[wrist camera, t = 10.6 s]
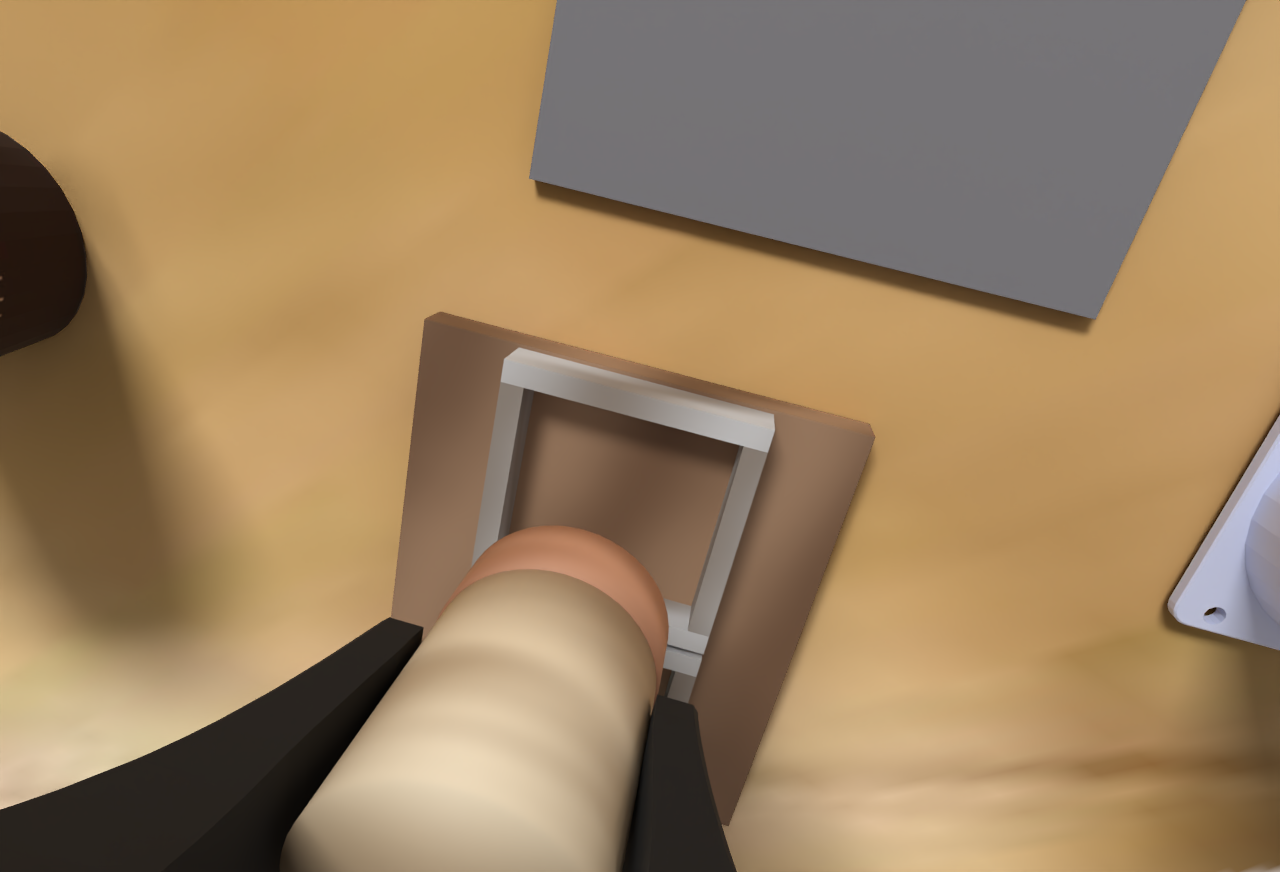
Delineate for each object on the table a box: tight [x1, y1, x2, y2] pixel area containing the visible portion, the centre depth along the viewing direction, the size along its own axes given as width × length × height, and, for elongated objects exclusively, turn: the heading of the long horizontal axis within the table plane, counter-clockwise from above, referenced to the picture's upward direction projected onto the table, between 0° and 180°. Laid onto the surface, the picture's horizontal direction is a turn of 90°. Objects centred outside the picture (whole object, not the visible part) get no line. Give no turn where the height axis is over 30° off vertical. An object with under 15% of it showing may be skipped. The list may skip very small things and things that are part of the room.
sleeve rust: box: [279, 526, 669, 872], centre depth 11 cm, size 4×4×6 cm
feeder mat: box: [529, 0, 1246, 319], centre depth 16 cm, size 14×10×1 cm
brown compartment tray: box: [391, 312, 875, 826], centre depth 21 cm, size 12×14×2 cm
